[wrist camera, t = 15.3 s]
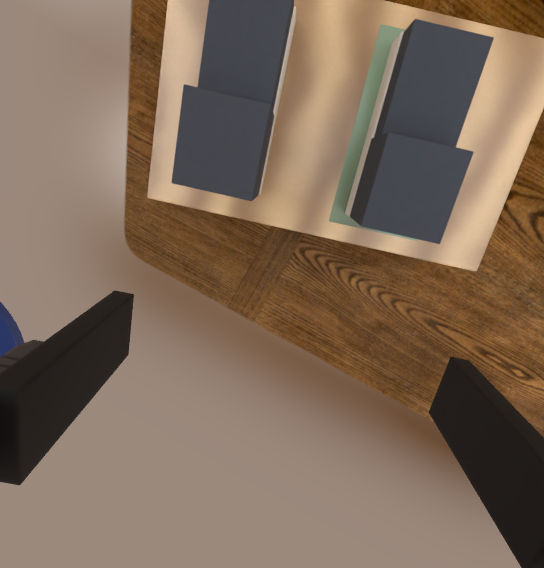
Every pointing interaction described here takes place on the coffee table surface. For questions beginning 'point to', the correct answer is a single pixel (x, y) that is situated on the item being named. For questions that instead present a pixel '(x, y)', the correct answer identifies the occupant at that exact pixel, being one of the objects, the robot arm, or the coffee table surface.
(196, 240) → the coffee table surface
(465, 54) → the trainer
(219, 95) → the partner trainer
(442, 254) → the low wooden bench
